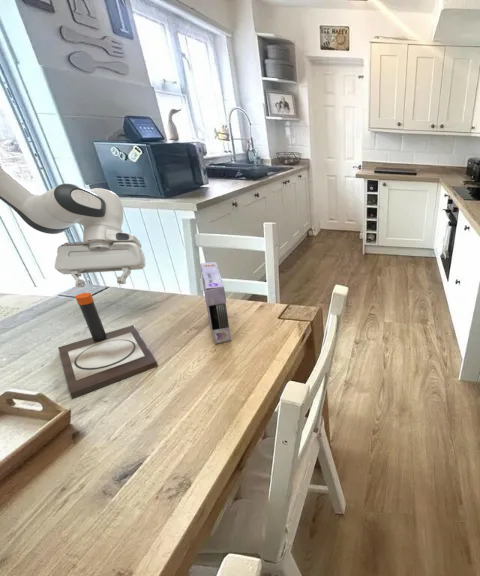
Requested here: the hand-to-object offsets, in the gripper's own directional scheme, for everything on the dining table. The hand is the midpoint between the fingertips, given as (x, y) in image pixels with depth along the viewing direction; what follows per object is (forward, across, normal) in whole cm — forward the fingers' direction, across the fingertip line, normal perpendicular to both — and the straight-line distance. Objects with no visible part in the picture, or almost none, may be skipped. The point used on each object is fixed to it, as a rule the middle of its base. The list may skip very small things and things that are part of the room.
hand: (101, 285), depth 91 cm
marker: (+16, +1, -1) cm, 16 cm away
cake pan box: (+17, +30, 0) cm, 34 cm away
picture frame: (+22, +4, -6) cm, 24 cm away
